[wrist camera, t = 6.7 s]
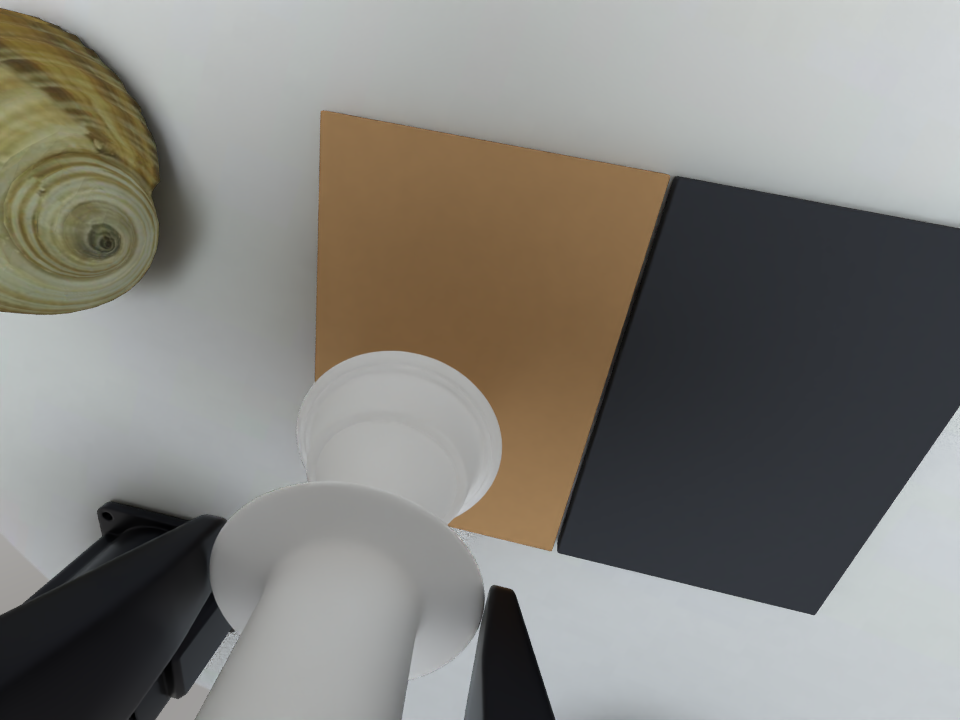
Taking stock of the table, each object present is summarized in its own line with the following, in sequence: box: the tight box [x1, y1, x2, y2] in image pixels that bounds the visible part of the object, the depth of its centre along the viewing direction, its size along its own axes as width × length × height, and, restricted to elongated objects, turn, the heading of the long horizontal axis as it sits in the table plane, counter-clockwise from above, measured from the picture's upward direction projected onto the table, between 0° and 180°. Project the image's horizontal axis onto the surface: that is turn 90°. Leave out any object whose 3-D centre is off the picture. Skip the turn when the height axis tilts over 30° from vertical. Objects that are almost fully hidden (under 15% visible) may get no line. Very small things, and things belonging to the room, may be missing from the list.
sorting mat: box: [315, 110, 960, 615], centre depth 16 cm, size 20×14×1 cm
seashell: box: [0, 8, 160, 315], centre depth 14 cm, size 10×7×8 cm
